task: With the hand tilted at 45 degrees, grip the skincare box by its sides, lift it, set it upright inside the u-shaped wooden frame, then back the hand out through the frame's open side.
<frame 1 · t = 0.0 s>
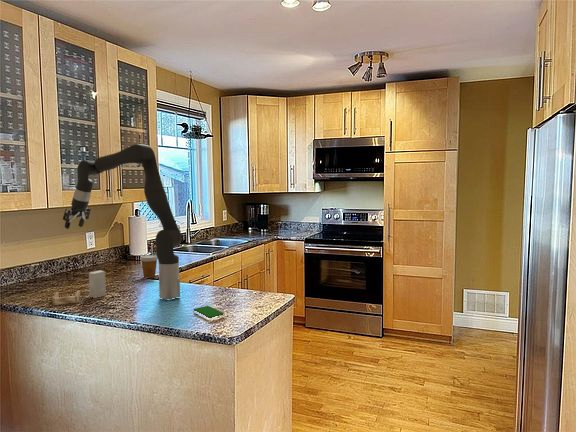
hand: (73, 227, 211), 31 cm above the countertop, tool tilted 20°, fingers open, 8 cm apart
disposable coffee cup: (149, 277, 237), on the countertop
skincare box: (97, 296, 198), on the countertop
u-shaped wooden frame: (67, 300, 191), on the countertop
dish sponge: (208, 317, 172), on the countertop
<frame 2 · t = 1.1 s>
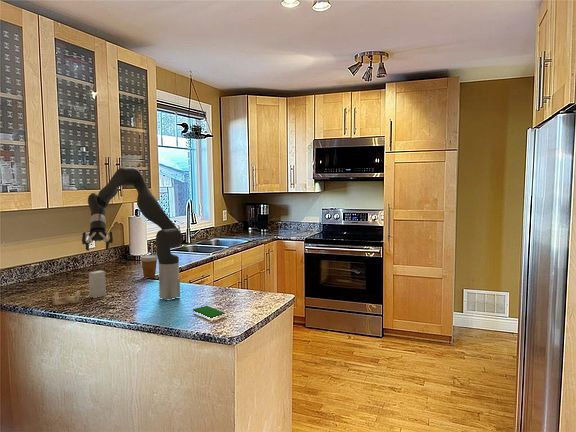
hand: (97, 249, 207), 21 cm above the countertop, tool tilted 45°, fingers open, 8 cm apart
nothing on the countertop moved.
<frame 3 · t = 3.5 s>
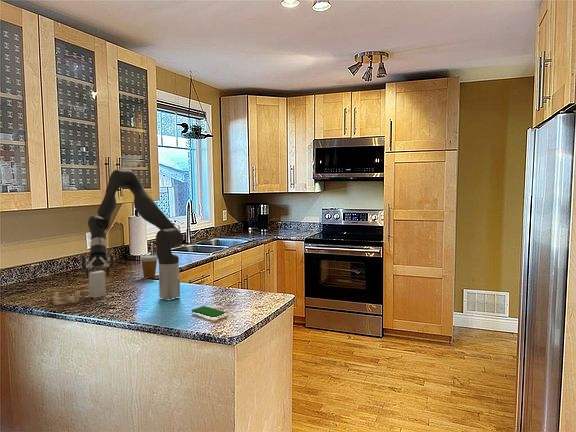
hand: (97, 275, 200), 10 cm above the countertop, tool tilted 45°, fingers open, 8 cm apart
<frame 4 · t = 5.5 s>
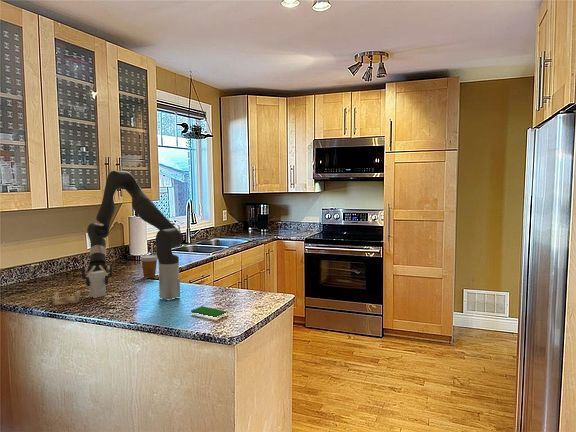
hand: (97, 284, 196), 6 cm above the countertop, tool tilted 45°, fingers closed on skincare box, 7 cm apart
skincare box: (97, 296, 198), on the countertop, touching gripper
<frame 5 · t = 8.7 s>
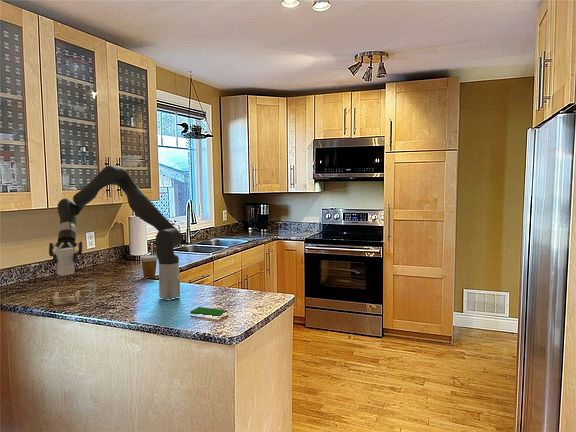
hand: (64, 262, 188), 18 cm above the countertop, tool tilted 45°, fingers closed on skincare box, 7 cm apart
skincare box: (65, 274, 190), point 12 cm above the countertop, touching gripper
when the fingers open (7 cm above the countertop, at t = 11.7 s): skincare box drops 1 cm, on the countertop.
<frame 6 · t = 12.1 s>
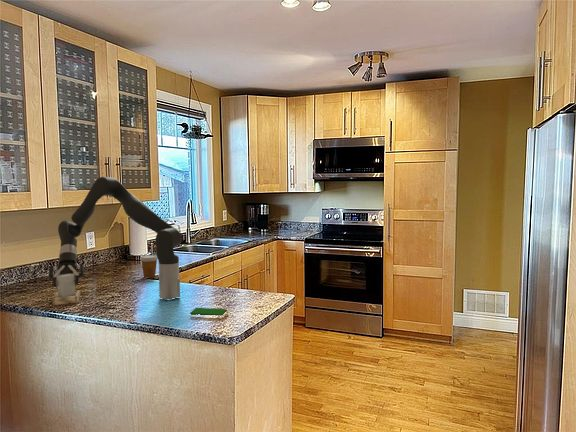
hand: (65, 284, 189), 8 cm above the countertop, tool tilted 45°, fingers open, 8 cm apart
skincare box: (66, 300, 191), on the countertop
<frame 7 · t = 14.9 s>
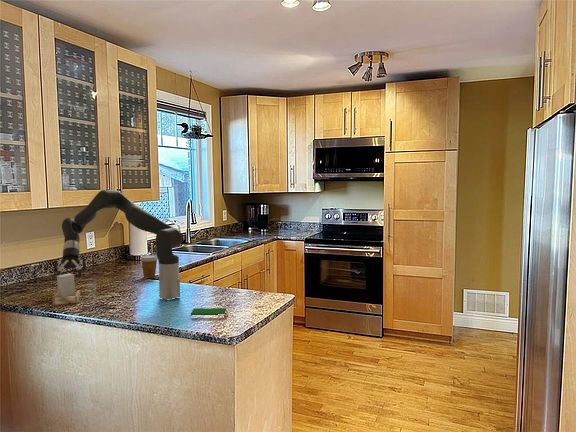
hand: (69, 278, 201), 8 cm above the countertop, tool tilted 45°, fingers open, 8 cm apart
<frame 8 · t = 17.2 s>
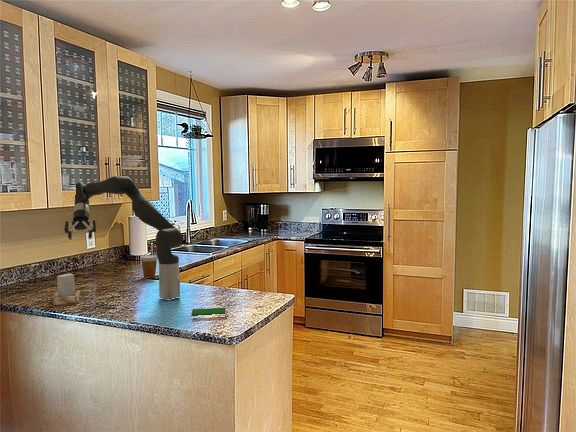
hand: (80, 238, 205), 27 cm above the countertop, tool tilted 45°, fingers open, 8 cm apart
at the end: skincare box 0.2 cm off-centre on the u-shaped wooden frame, point 0.0 cm above the u-shaped wooden frame's base; skincare box tilted 0°; the gripper is holding nothing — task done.
